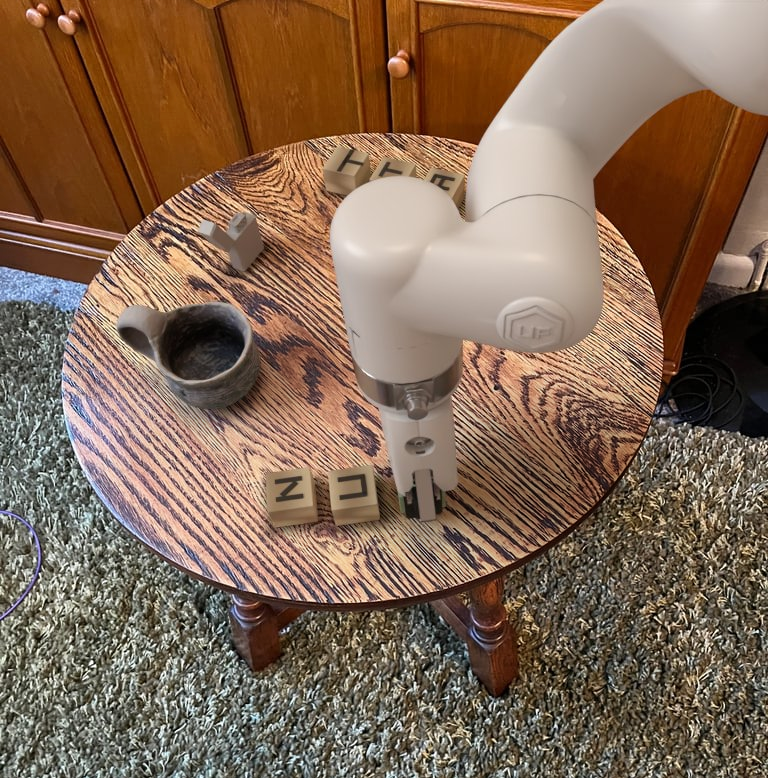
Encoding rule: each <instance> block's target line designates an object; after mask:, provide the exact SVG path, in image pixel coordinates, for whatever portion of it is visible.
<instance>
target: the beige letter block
mask: <svg viewBox="0 0 768 778" xmlns="http://www.w3.org/2000/svg"><path fill="white" fill-rule="evenodd" d="M371 170H372V169H371V160H370V154H369V152H365V151H360V150H357V149H353V148H346V147H342V146H338V145H337V146H336V148H335V149H334V150H333V152H332V154H330V157H329V158H328V159H327V161H326V162H325V164H324V166H323V167H322V173H323V181H324V186H325V191H327V192H330V193H335V194H339V195H342V196H346V197H347V196H348V195H349V194H350V193H351V192H352V191H354V190H355V189H357V188H358V187H360V186H362V185H364V184H366V183H368V182H369V179H370V178H371V176H372V171H371Z"/></svg>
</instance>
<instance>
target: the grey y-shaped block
mask: <svg viewBox="0 0 768 778" xmlns="http://www.w3.org/2000/svg"><path fill="white" fill-rule="evenodd" d="M227 225H228V228H227V229H226V231H224V230H223V228H221V227H220V226H219V225H218V224H217V223H215V222H212V221H209V220H206V219H202V220H201V222H200V225H199V228H198V230H197V233H198V234H199V235H201V236H202V238H204V239H205V240H206V241H208V242H209V243H210V244H211V245H212V246H213V247H214V248H216V249H218V250H221V251H224V252H226V253H228V256H229V260H230V263H231V266H232V268H233V269H235V270H238V271H241V272H246V271H247V270H248V269H249V268H250V266H251V265H252V264H253V262H254V261H255V260H256V259H257V258H258V257H259V255H260V254H261V252H263V251H264V249H265V246H264V241H263V239H262V235H261V231H260V227H259V224H258V221H257V217H256V215H255V214H253V213H249V212H247V211H242V212H236V213H235V214H234V215H233V216H232V217H231V218H230V220H229V221H227Z"/></svg>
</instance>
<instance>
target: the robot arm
mask: <svg viewBox="0 0 768 778" xmlns="http://www.w3.org/2000/svg"><path fill="white" fill-rule="evenodd" d="M708 90H710V91H711V92H713V93H714V94H716V95H717V96H718V97H720V98H721V99H723V100H725V101H726V102H728V103H730V104H732V105H734V106H736V107H738V108H740V109H742V110H743V111H746V112H749V113H752V114H756V115H761V116H765V117H766V116H767V117H768V0H602V1H601V2H599V3H598V4H596V5H595V6H593V7H592V8H590V9H588V10H587V11H585V12H584V13H583V14H582V15H580V16H579V17H577V18H576V19H574V21H572V22H571V23H569V25H567V26H566V27H565V28H564V29H563V30H562V31H561V32H560V33H558V35H557V36H556V37H554V39H553V40H552V41H551V42H550V43H549V44H548V45H547V46H546V47H545V48H544V50H543V51H542V52H541V53H540V55H539V56H538V57H537V59H536V60H535V61H534V62H533V64H532V65H531V66H530V68H529V69H528V70H527V71H526V73H525V74H524V76H523V77H522V78H521V80H520V81H519V82H518V84H517V86H516V87H515V88H514V90H513V91H512V92H511V94H510V95H509V96H508V98H507V100H506V101H505V102H504V103H503V105H502V107H500V110H499V111H498V112H497V114H495V116H494V118H493V120H492V121H491V123H490V124H489V126H488V127H487V129H486V130H485V132H484V133H483V136H482V137H481V139H480V141H479V143H478V145H477V147H476V149H475V151H474V154H473V157H472V160H471V163H470V166H469V169H468V172H467V177H466V184H465V203H464V204H465V205H464V215H465V216H464V218H463V217H462V216H461V214H460V211H459V208H458V209H457V207H456V205H455V203H454V202H453V200H452V199H451V198H450V196H449V195H448V194H447V193H446V192H445V191H444V190H442V189H441V188H440V187H438V186H437V185H435V184H433V183H431V182H429V181H426V180H424V179H423V178H420V177H417V178H415V177H408V176H392V177H385V178H380V179H377V180H374V181H368V182H367V183H366V184H364V185H362V186H360V187H358V188H357V189H355V190H354V191H352V192H351V193H350V194H349V195H348V196H347V195H346V196H345V198H344V199H343V200H342V201H341V202H340V204H339V205H338V207H337V209H336V210H335V212H334V215H333V217H332V219H331V222H330V230H329V246H330V254H331V258H332V262H333V269H334V274H335V279H336V284H337V289H338V294H339V299H340V305H341V311H342V315H343V320H344V326H345V330H346V335H347V340H348V341H347V342H348V344H349V351H350V352H349V353H350V357H351V362H352V366H353V367H352V368H353V372H354V376H355V383H356V385H357V387H358V390H359V392H360V393H361V395H362V396H363V397H364V398H365V399H366V400H367V401H368V403H370V404H371V405H373V406H374V407H375V408H378V413H379V419H380V425H381V429H382V434H383V439H384V443H385V446H386V451H387V455H388V460H389V463H390V467H391V473H392V476H393V479H394V483H395V486H396V487H395V488H396V491H397V493H398V492H399V493H400V494H401V495H403V498H404V506H405V513H404V514H405V518H406V519H408V520H409V519H416V520H420V524H424V523H431V522H437V515H442V513H443V512H444V511H443V507H442V490H443V491H445V492H449V491H452V490H453V491H454V490H455V489H456V488H457V486H458V485H459V476H458V462H457V461H458V460H457V444H456V428H455V416H454V406H453V397H452V396H453V395H454V394H455V392H456V391H457V389H458V388H459V386H460V385H461V382H462V379H463V373H464V341H466V342H467V341H468V342H472V343H476V344H480V345H484V346H489V347H493V348H497V349H502V350H507V351H510V352H511V351H512V352H517V353H525V354H526V353H527V354H549V353H556V352H561V351H565V350H567V349H569V348H570V349H571V348H572V347H574V346H576V345H578V344H579V343H582V342H583V340H585V339H586V338H587V337H588V336H589V335H590V334H591V333H592V332H593V331H594V329H595V328H596V326H597V324H598V322H599V320H600V318H601V315H602V311H603V306H604V300H605V299H604V294H605V290H604V289H605V287H604V275H603V266H602V257H601V255H602V254H601V247H600V236H599V228H598V219H597V210H596V200H595V199H596V198H595V186H594V185H595V184H594V179H595V178H596V176H597V175H598V174H599V172H600V171H601V170H602V169H603V167H604V166H605V165H606V164H607V163H608V162H609V161H610V160H611V158H613V156H614V155H615V154H616V153H617V152H618V150H619V149H620V148H622V146H623V145H624V144H625V143H626V142H627V141H628V140H629V139H630V137H631V136H633V135H634V133H635V132H636V131H637V130H639V128H640V127H641V126H643V124H644V123H646V121H648V120H649V119H650V118H652V117H653V115H655V114H656V113H657V112H659V110H662V109H663V108H664V107H666V106H668V105H669V104H671V103H673V101H676V100H678V99H680V98H682V97H685V96H687V95H689V94H692V93H697V92H700V91H708ZM414 484H415V485H416V486H414V487H412V486H413V485H414Z"/></svg>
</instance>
